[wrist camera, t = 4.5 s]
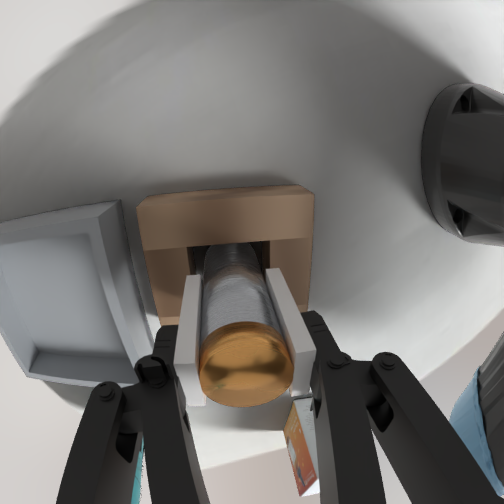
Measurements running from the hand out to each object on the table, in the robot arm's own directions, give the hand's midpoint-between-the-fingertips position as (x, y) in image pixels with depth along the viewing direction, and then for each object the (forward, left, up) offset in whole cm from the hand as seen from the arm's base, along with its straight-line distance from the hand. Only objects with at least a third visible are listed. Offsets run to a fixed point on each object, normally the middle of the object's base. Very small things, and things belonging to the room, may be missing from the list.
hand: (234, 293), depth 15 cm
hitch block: (0, 0, -4) cm, 4 cm away
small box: (-8, +22, -5) cm, 24 cm away
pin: (0, 0, -4) cm, 4 cm away
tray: (+14, +2, -4) cm, 15 cm away
